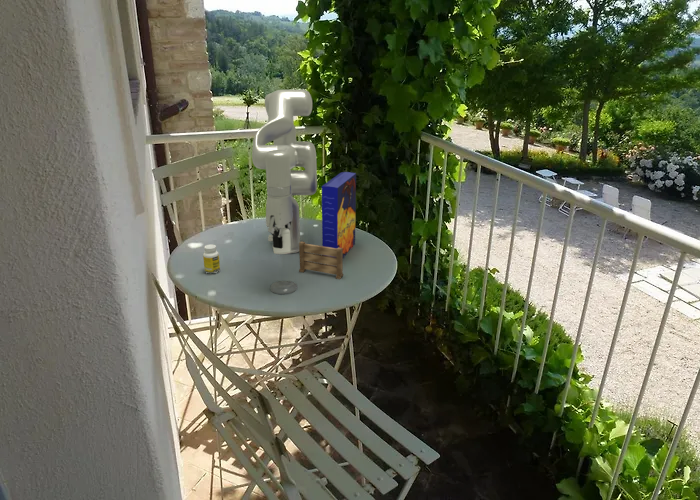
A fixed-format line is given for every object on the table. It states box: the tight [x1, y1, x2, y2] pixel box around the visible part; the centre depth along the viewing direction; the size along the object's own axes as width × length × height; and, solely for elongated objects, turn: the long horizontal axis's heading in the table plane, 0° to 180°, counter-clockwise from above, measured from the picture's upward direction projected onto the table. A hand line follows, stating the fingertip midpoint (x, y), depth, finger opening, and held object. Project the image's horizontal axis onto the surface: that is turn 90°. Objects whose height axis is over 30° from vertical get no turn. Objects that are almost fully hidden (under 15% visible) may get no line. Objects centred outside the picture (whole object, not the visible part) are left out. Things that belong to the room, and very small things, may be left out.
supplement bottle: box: [202, 244, 221, 274], centre depth 179 cm, size 5×5×10 cm
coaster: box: [269, 280, 298, 295], centre depth 169 cm, size 9×9×1 cm
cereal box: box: [321, 171, 357, 259], centre depth 191 cm, size 22×6×30 cm, turn 162°
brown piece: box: [298, 240, 344, 280], centre depth 177 cm, size 16×3×11 cm, turn 69°
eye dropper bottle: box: [272, 226, 291, 255], centre depth 162 cm, size 4×6×12 cm
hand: (281, 244), depth 163 cm, fingers closed on eye dropper bottle, 4 cm apart
